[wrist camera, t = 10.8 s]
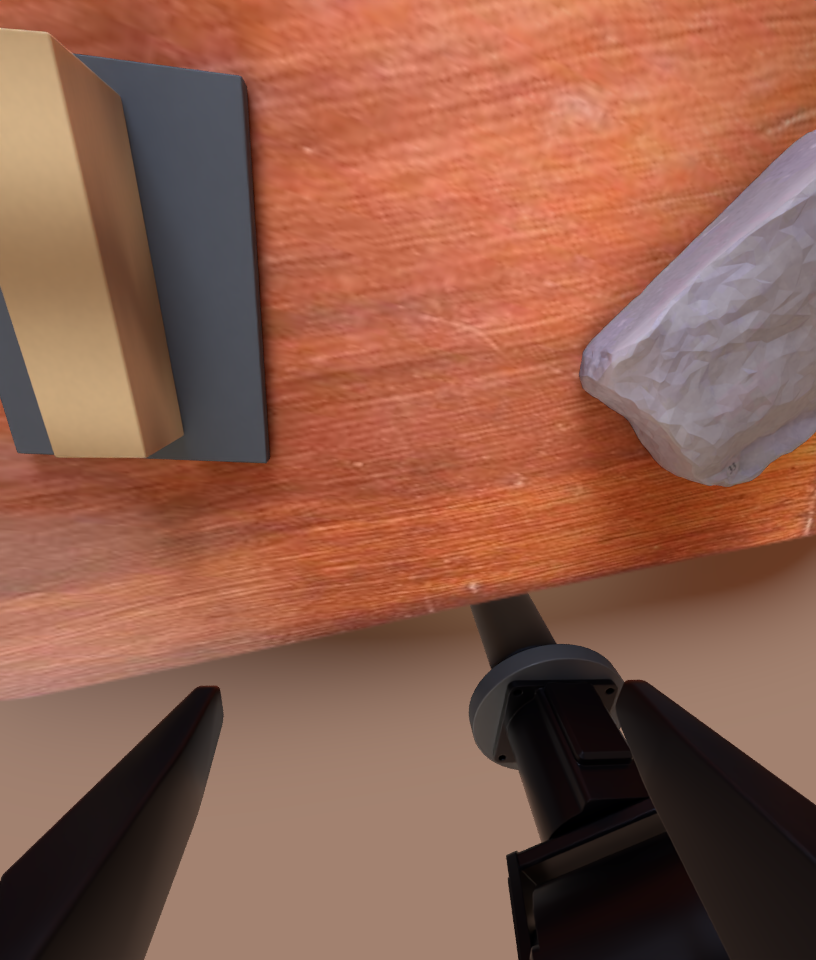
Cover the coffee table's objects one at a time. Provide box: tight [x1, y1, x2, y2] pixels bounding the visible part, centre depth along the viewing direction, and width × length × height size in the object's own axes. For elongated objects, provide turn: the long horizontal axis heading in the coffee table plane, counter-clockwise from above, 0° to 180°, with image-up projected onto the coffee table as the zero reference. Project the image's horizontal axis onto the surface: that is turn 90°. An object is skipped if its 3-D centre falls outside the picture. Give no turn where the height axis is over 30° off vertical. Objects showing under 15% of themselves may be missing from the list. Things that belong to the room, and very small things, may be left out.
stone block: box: [579, 130, 816, 487], centre depth 16 cm, size 12×5×10 cm
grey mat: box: [0, 53, 270, 463], centre depth 15 cm, size 13×10×1 cm
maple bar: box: [0, 28, 184, 458], centre depth 13 cm, size 11×3×3 cm, turn 178°
